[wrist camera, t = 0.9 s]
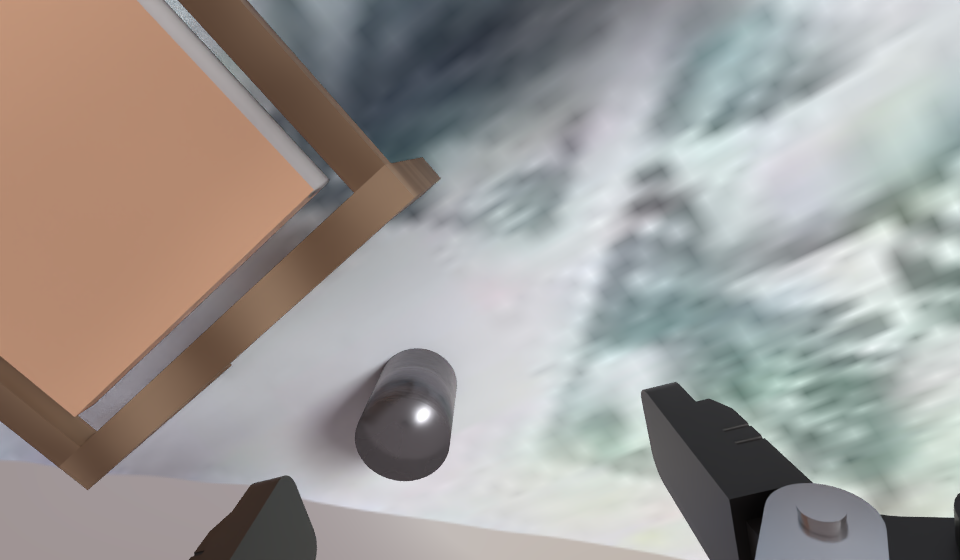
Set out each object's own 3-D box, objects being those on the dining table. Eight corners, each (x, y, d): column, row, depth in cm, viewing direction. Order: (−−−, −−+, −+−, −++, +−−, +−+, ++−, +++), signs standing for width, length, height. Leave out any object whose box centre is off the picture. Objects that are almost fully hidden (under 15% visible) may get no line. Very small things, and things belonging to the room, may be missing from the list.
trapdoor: (11, -171, 15) (-22, -194, 14) (332, 178, 18) (324, 180, 17) (-215, 145, 17) (-257, 144, 17) (94, 404, 20) (74, 416, 19)
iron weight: (420, 333, 29) (404, 380, 23) (472, 387, 30) (469, 445, 24) (364, 379, 30) (335, 435, 24) (416, 430, 31) (400, 496, 25)
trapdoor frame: (173, -132, 23) (-60, -338, 13) (440, 178, 26) (414, 197, 17) (-48, 139, 26) (-360, 136, 16) (215, 379, 30) (87, 490, 20)
